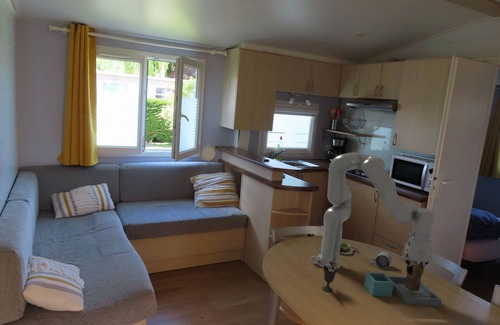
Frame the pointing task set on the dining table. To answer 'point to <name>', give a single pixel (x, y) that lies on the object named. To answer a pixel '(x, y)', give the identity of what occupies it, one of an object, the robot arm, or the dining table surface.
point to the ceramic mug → (382, 260)
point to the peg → (414, 278)
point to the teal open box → (378, 284)
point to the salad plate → (346, 248)
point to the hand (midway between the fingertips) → (414, 273)
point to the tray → (414, 293)
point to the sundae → (329, 275)
